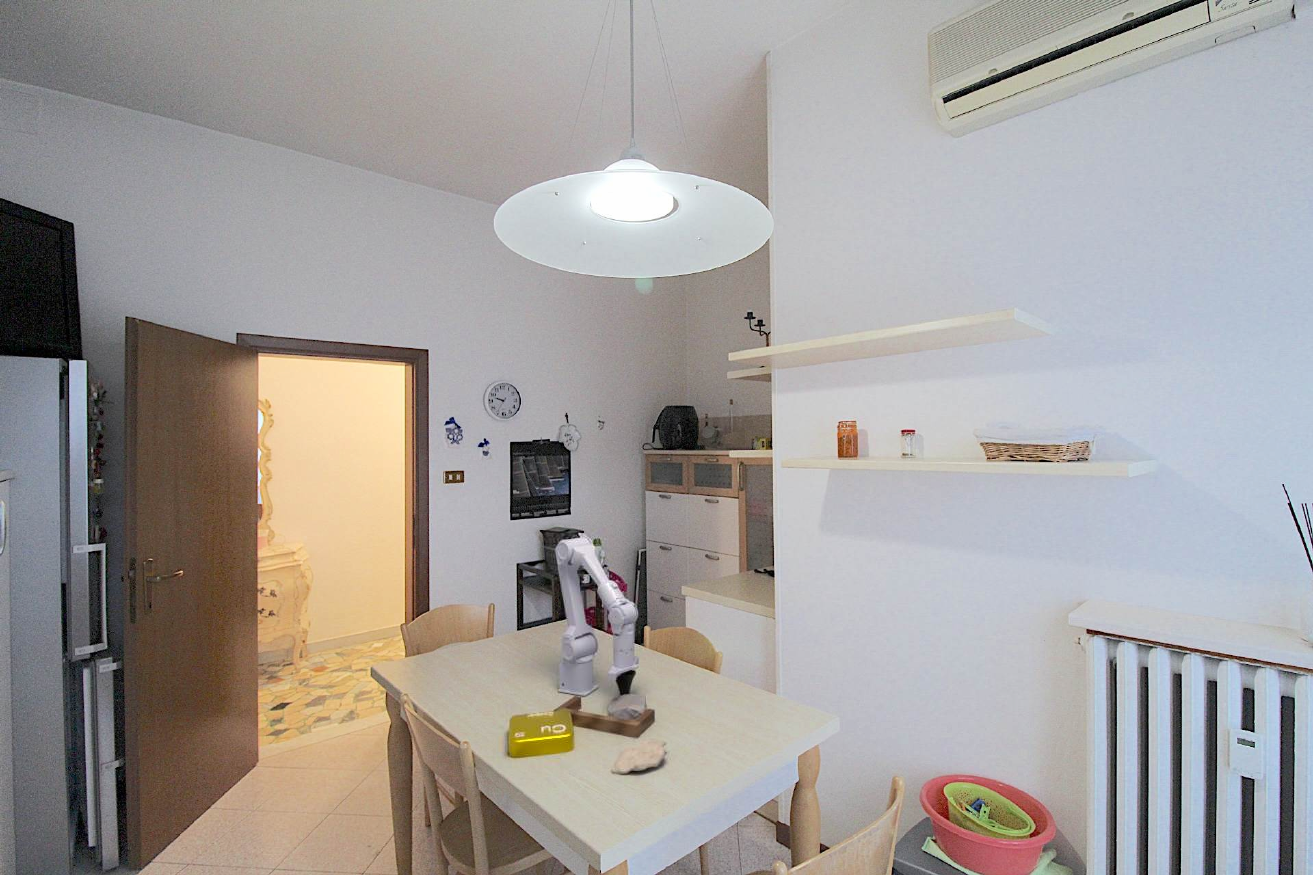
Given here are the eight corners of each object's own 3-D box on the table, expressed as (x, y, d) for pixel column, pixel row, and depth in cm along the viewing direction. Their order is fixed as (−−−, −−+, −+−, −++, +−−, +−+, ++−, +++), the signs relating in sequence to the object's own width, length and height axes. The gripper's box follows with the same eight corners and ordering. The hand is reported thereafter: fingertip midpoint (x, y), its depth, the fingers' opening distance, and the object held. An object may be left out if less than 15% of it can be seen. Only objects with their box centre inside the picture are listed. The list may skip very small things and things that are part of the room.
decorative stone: (647, 744, 148) (600, 775, 137) (644, 728, 148) (597, 757, 137) (681, 752, 140) (634, 785, 129) (678, 735, 141) (631, 767, 130)
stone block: (609, 732, 157) (648, 723, 158) (605, 713, 158) (644, 704, 158) (612, 714, 169) (648, 705, 170) (608, 696, 170) (644, 688, 170)
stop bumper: (554, 721, 160) (553, 709, 160) (575, 706, 169) (574, 695, 169) (637, 738, 150) (637, 725, 150) (654, 721, 159) (654, 709, 159)
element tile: (570, 725, 159) (570, 706, 159) (575, 753, 144) (574, 732, 144) (510, 732, 156) (509, 713, 156) (508, 761, 141) (508, 739, 141)
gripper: (624, 658, 162) (625, 710, 162) (648, 642, 175) (649, 690, 175) (600, 654, 165) (601, 706, 165) (626, 639, 178) (626, 686, 178)
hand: (624, 697), depth 170 cm, fingers closed
